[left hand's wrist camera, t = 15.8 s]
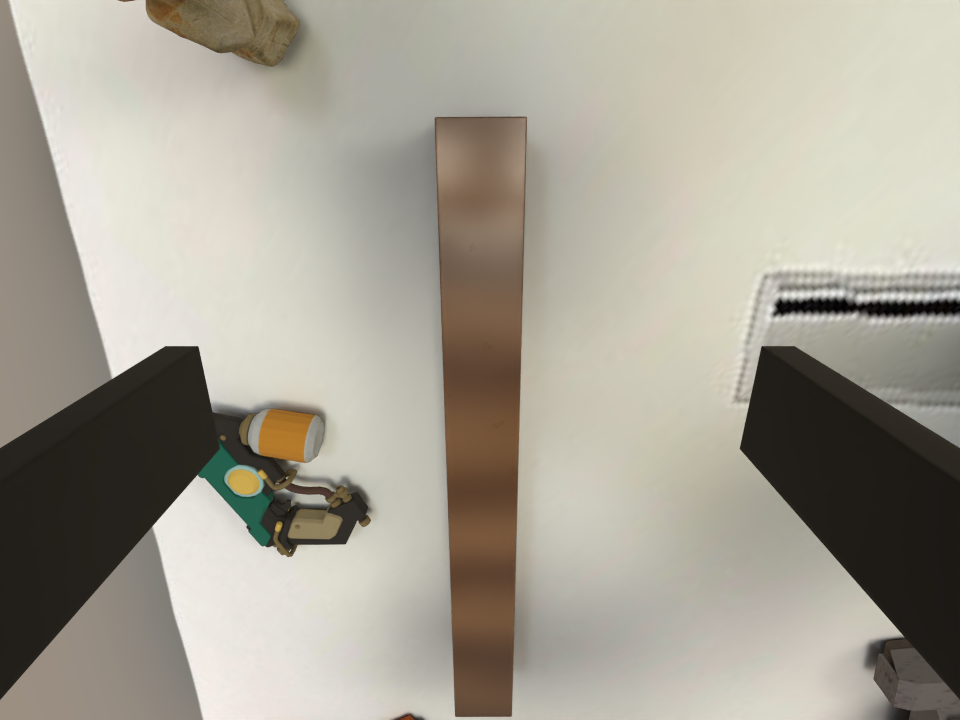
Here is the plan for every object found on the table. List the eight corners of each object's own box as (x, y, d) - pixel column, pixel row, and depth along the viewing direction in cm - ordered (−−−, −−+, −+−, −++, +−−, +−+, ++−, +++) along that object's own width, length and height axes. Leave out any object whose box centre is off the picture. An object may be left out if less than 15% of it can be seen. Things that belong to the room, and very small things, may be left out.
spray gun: (381, 524, 53) (243, 543, 54) (329, 381, 46) (173, 407, 47) (373, 556, 49) (224, 576, 51) (314, 406, 42) (144, 434, 44)
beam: (442, 123, 39) (434, 117, 32) (518, 123, 39) (527, 116, 31) (458, 648, 58) (455, 717, 51) (508, 648, 58) (511, 717, 51)
